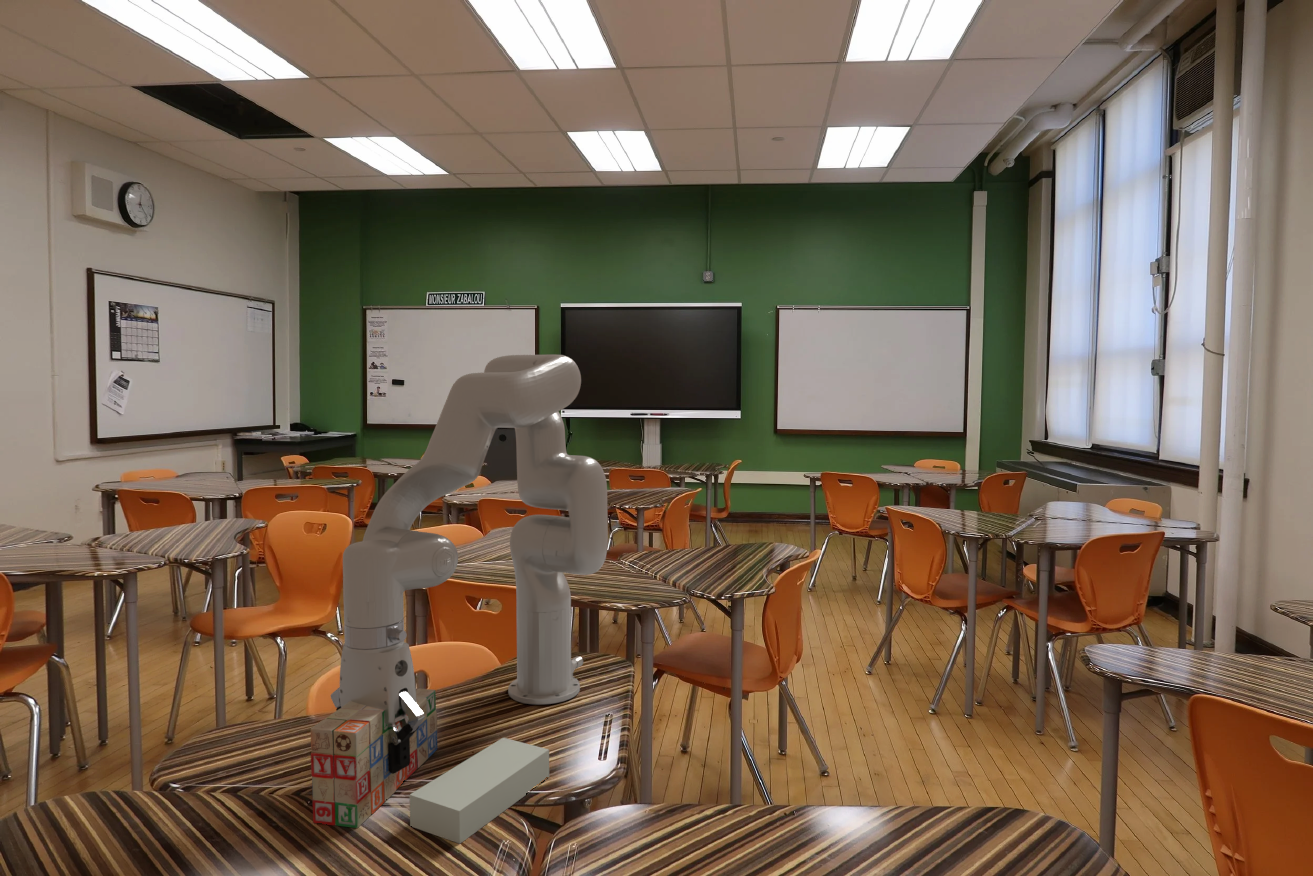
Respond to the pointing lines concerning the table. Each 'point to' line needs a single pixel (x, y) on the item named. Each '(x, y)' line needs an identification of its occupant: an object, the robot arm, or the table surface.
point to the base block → (478, 789)
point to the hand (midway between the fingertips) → (377, 761)
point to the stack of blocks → (362, 760)
